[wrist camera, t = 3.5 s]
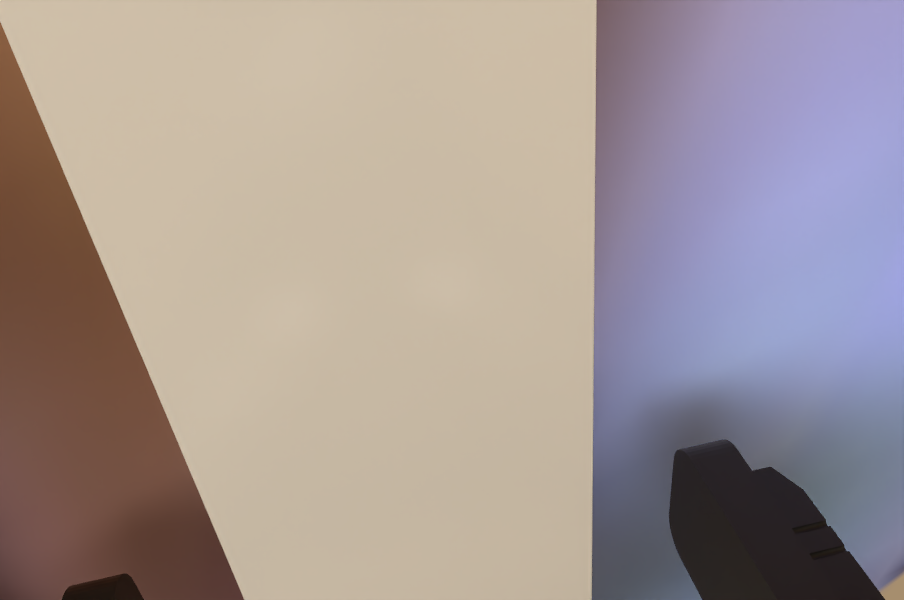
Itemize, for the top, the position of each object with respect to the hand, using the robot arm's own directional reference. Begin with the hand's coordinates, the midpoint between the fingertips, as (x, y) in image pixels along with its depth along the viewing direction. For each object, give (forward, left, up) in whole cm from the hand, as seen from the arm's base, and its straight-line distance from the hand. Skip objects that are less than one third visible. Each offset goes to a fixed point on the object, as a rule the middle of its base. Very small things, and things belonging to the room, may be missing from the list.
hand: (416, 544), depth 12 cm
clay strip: (0, 0, -2) cm, 2 cm away
